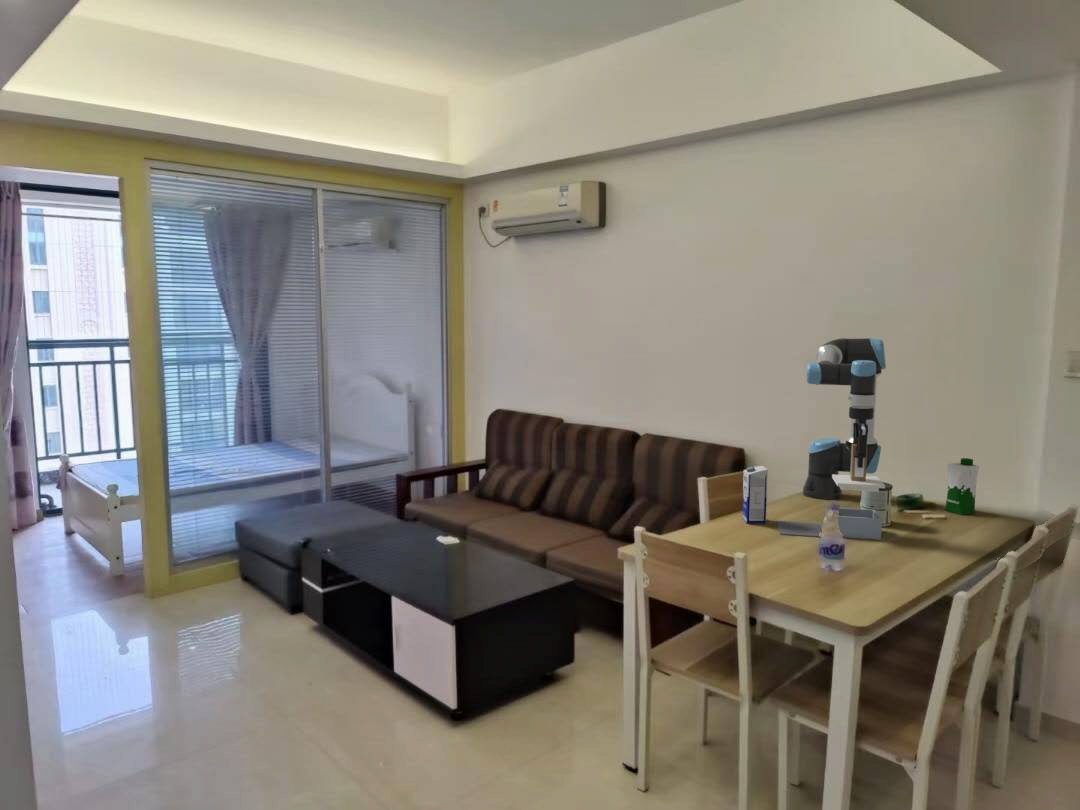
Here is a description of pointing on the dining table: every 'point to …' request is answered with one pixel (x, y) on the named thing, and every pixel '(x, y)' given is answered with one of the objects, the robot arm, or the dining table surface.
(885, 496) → the coffee can
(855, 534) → the box
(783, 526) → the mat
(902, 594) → the dining table surface
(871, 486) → the lid
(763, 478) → the milk carton
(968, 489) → the soya milk
